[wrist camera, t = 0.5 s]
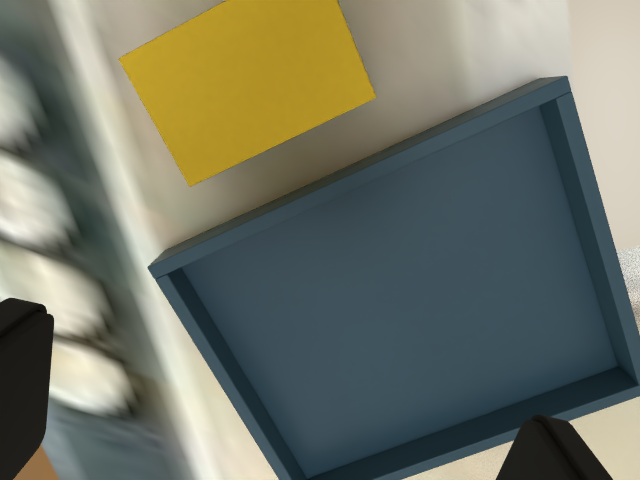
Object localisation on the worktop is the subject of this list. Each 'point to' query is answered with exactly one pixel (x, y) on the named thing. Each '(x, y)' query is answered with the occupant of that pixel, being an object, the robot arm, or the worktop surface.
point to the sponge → (247, 79)
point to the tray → (417, 297)
